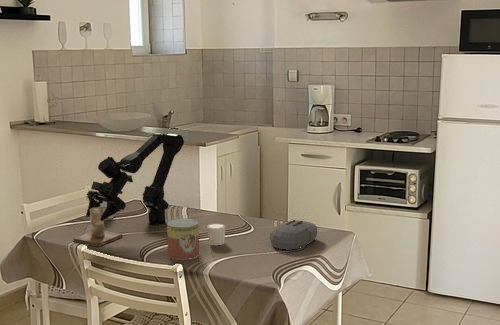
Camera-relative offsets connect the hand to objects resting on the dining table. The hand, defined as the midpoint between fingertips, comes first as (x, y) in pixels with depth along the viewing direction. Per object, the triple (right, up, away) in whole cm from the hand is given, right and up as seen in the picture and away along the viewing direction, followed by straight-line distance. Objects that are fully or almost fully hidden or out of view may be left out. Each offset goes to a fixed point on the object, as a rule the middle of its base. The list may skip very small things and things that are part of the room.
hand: (93, 218), depth 239 cm
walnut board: (+1, -8, +3) cm, 9 cm away
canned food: (+36, -12, -16) cm, 41 cm away
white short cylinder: (+47, -10, -4) cm, 48 cm away
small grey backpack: (+76, -10, -4) cm, 77 cm away
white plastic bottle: (-2, -3, +34) cm, 34 cm away
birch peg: (+1, -7, +2) cm, 8 cm away
